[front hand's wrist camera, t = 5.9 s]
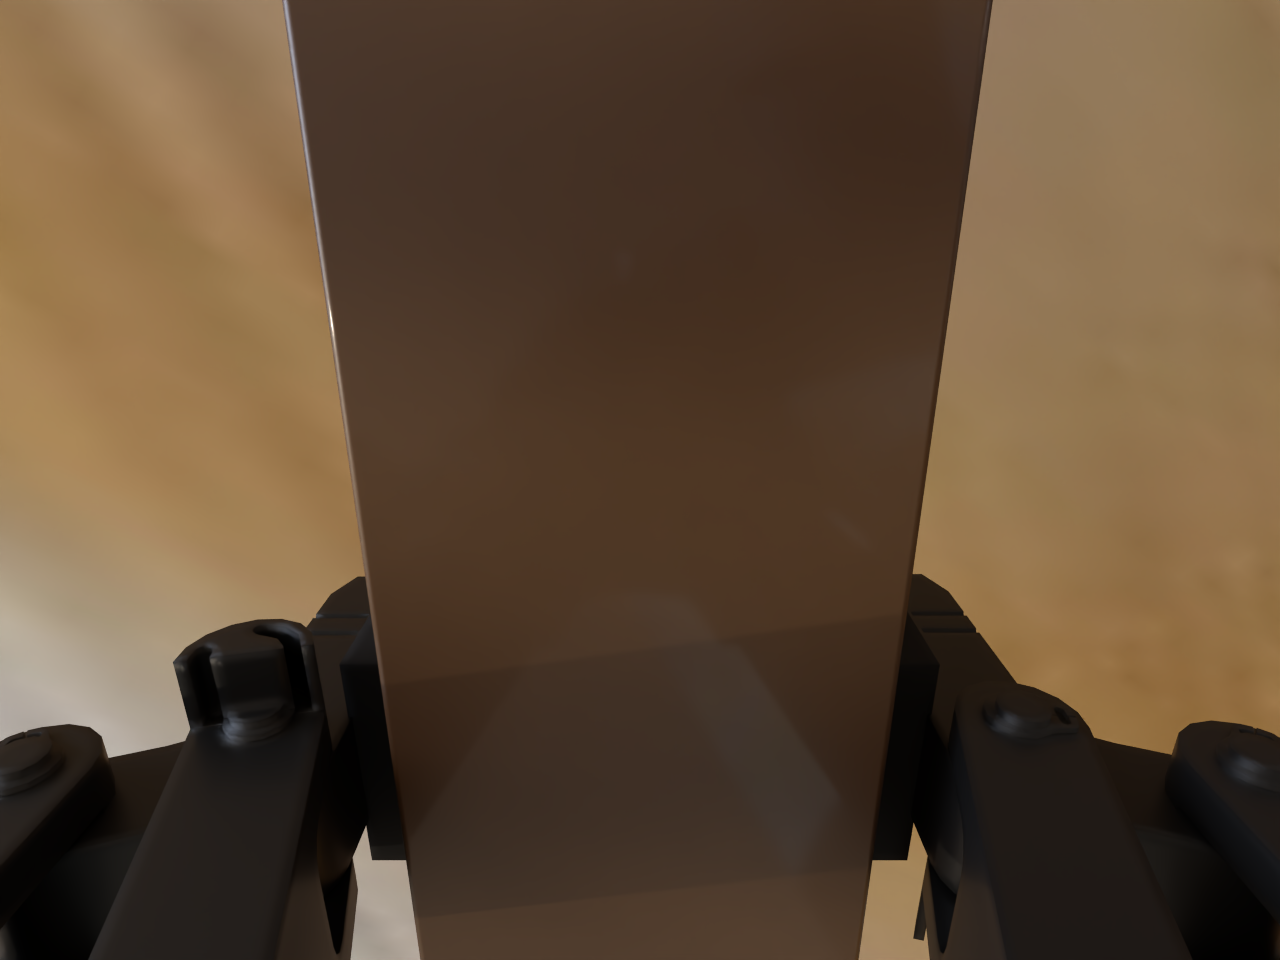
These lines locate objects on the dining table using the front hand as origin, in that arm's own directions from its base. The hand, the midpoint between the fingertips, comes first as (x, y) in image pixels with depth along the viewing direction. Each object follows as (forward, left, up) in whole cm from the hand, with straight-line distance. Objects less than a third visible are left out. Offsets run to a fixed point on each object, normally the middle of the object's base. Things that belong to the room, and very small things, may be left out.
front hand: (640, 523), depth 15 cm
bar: (+3, -28, -1) cm, 28 cm away
